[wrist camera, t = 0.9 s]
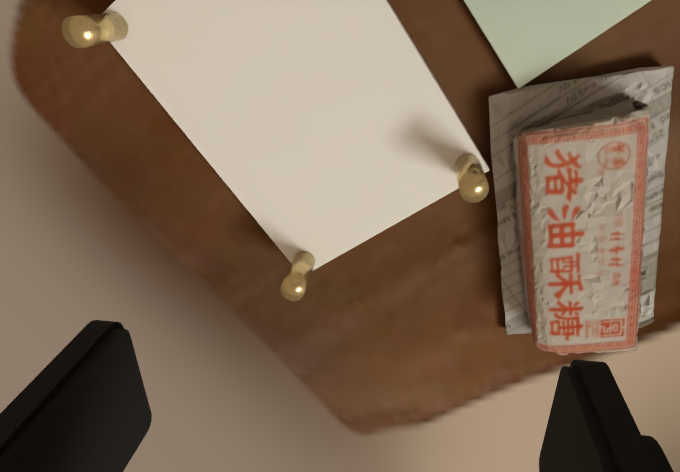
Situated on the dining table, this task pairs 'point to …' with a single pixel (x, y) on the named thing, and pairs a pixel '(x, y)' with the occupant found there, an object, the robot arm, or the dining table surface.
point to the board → (544, 29)
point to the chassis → (300, 112)
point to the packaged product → (581, 206)
